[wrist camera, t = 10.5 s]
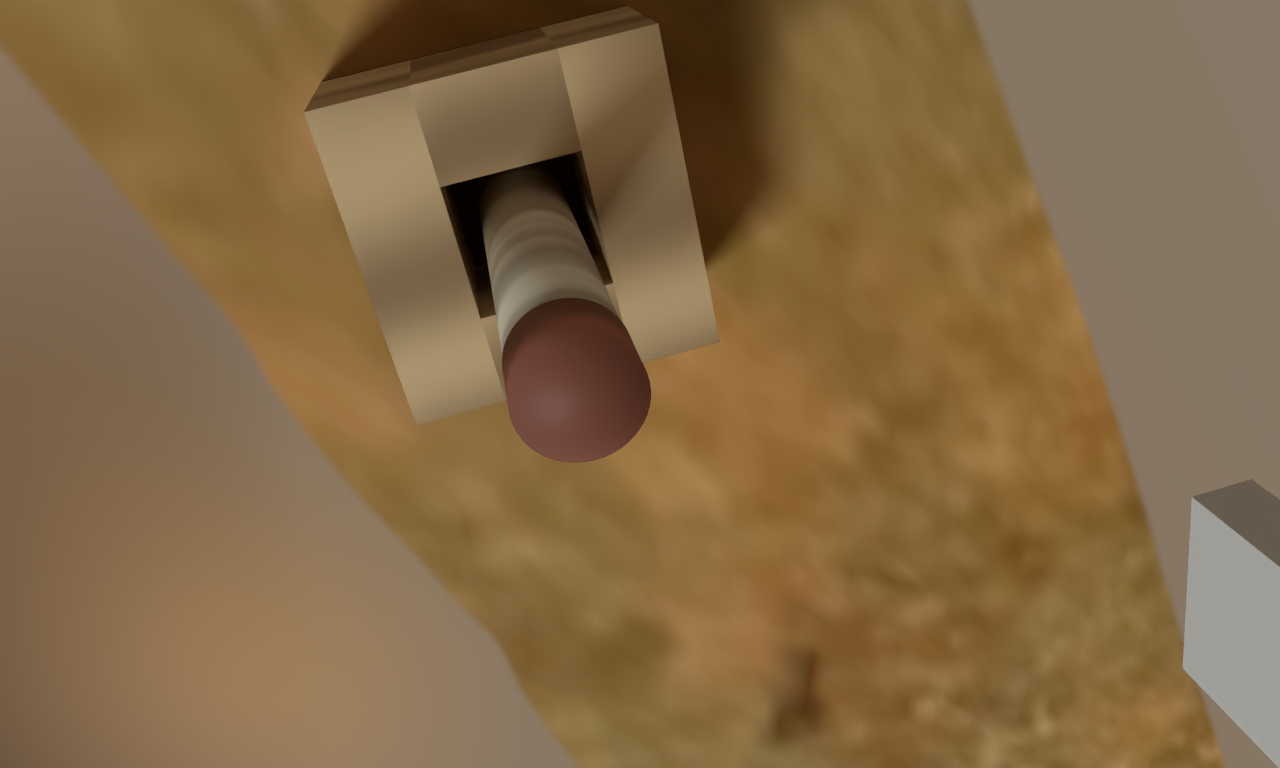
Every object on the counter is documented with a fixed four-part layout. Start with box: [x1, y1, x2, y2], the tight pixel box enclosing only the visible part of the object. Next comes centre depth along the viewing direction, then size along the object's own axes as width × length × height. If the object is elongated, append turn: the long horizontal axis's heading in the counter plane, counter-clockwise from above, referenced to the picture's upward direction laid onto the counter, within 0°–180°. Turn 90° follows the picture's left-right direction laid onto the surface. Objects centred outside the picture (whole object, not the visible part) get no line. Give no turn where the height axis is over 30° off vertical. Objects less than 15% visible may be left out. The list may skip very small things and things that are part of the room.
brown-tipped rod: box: [477, 161, 651, 463], centre depth 28 cm, size 3×3×16 cm
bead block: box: [304, 6, 720, 425], centre depth 33 cm, size 10×10×5 cm
